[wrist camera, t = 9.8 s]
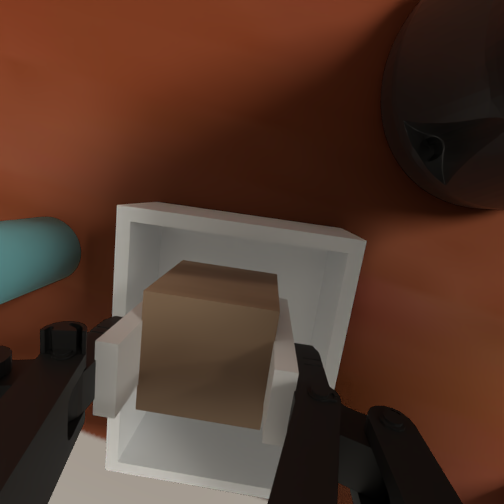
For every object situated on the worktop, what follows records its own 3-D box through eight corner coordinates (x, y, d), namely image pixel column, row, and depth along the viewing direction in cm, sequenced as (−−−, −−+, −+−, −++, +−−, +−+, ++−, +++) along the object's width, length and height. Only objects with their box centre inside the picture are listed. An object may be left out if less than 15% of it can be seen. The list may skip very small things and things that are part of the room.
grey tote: (157, 201, 22) (117, 204, 16) (341, 228, 21) (366, 240, 16) (142, 408, 26) (105, 469, 20) (300, 435, 25) (308, 506, 19)
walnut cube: (183, 259, 16) (143, 290, 11) (276, 274, 16) (279, 311, 11) (175, 345, 17) (135, 409, 12) (263, 359, 17) (260, 430, 12)
